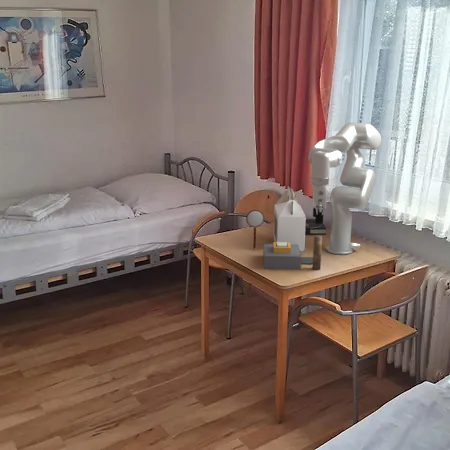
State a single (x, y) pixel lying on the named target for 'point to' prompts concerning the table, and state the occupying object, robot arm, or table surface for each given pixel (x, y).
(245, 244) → the table surface
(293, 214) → the gable box
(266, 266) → the box
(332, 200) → the robot arm
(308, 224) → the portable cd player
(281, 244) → the button
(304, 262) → the pad
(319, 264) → the brown cylinder
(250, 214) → the magnifying glass
